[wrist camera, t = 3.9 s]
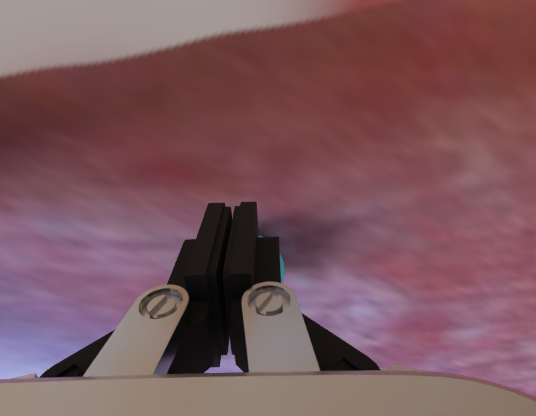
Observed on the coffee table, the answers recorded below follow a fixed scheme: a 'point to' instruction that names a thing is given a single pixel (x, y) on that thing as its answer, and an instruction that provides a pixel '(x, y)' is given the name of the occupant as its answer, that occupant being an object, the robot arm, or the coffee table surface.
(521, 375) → the coffee table surface
